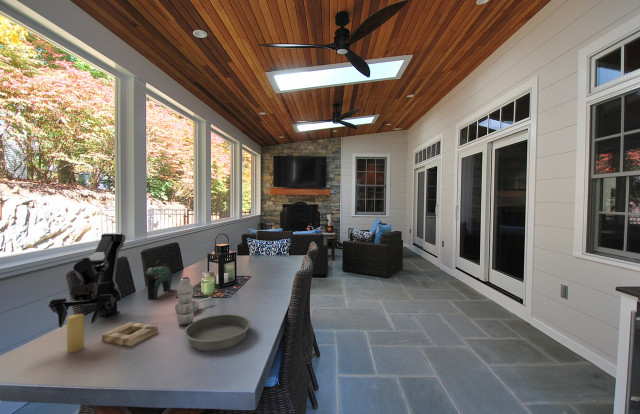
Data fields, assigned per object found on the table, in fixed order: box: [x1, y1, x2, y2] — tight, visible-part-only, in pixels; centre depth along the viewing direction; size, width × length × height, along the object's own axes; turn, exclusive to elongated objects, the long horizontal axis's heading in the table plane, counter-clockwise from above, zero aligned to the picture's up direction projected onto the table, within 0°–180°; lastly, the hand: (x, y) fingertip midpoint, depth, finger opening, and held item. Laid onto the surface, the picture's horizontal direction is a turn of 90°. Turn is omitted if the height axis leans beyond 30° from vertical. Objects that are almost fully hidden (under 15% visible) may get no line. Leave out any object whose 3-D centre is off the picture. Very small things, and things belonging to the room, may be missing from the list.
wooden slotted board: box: [101, 321, 159, 347], centre depth 111 cm, size 14×12×3 cm
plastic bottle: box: [176, 276, 195, 326], centre depth 123 cm, size 6×7×20 cm
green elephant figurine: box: [145, 260, 173, 300], centre depth 161 cm, size 20×6×20 cm, turn 179°
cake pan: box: [183, 313, 251, 352], centre depth 111 cm, size 25×25×4 cm
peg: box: [66, 313, 85, 354], centre depth 101 cm, size 5×5×12 cm
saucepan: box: [174, 296, 212, 314], centre depth 139 cm, size 11×18×4 cm, turn 143°
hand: (76, 324), depth 101 cm, fingers open, 9 cm apart
